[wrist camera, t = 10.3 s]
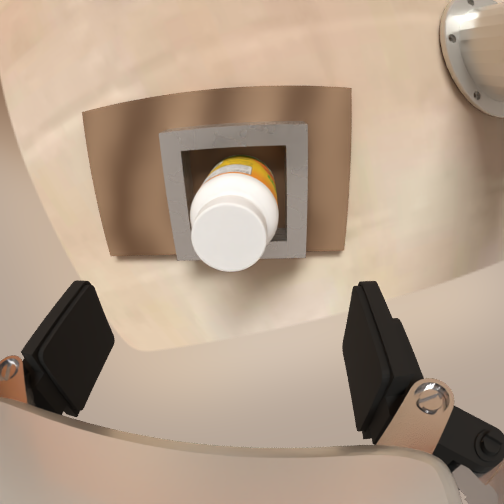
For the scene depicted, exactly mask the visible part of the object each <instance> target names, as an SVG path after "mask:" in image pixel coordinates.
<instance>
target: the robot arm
mask: <svg viewBox="0 0 504 504" xmlns="http://www.w3.org/2000/svg"><path fill="white" fill-rule="evenodd" d="M440 42H441V47H442V53H443V56H444V59H445V62H446V66H447V68H448V70H449V72H450V74H451V77H452V79H453V80H454V82H455V84H456V85H457V87H458V89H459V90H460V91H461V93H462V94H463V95H464V96H465V98H466V99H467V100H468V101H469V102H470V103H471V104H472V105H473V106H474V107H476V108H477V109H479V110H480V111H482V112H484V113H486V114H489V115H491V116H495V117H499V118H504V2H503V3H497V2H495V1H494V0H452V1H451V2H449V4H448V5H447V6H446V8H445V9H444V12H443V15H442V17H441V23H440ZM113 345H114V335H113V333H112V331H111V328H110V326H109V324H108V321H107V319H106V316H105V314H104V311H103V309H102V306H101V304H100V301H99V298H98V296H97V293H96V290H95V288H94V286H93V285H91V283H90V282H89V281H74V282H73V283H72V284H71V286H70V287H69V288H68V289H67V291H66V292H65V293H64V294H63V296H62V297H61V298H60V299H59V301H58V302H57V303H56V304H55V306H54V307H53V308H52V310H51V311H50V312H49V314H48V315H47V316H46V318H45V319H44V320H43V322H42V323H41V324H40V326H39V327H38V329H37V330H36V331H35V333H34V334H33V335H32V337H31V338H30V340H29V341H28V342H27V344H26V345H25V347H24V348H23V350H22V351H21V353H22V355H23V356H24V360H23V361H22V359H21V358H19V357H18V356H15V355H11V356H8V357H6V358H4V359H3V360H1V361H0V504H463V503H462V500H461V496H460V492H459V490H461V492H462V493H463V494H464V495H465V496H466V498H465V500H466V501H467V502H468V504H504V434H503V433H502V432H501V431H500V430H499V429H497V428H496V427H494V426H492V425H490V424H488V423H486V422H484V421H482V420H480V419H479V418H476V417H475V416H473V415H471V414H469V413H467V412H465V411H463V410H461V409H460V408H458V407H455V406H454V395H453V393H452V391H451V389H450V388H449V387H448V386H447V385H446V384H445V383H444V382H442V381H440V380H437V379H433V378H426V379H424V378H423V375H422V373H421V370H420V368H419V365H418V362H417V360H416V357H415V354H414V352H413V349H412V347H411V345H410V342H409V340H408V337H407V335H406V332H405V330H404V328H403V325H402V323H401V322H400V320H399V319H398V318H392V316H391V314H390V311H389V309H388V307H387V304H386V302H385V300H384V297H383V295H382V293H381V291H380V288H379V286H378V284H377V282H376V281H363V282H359V284H358V286H354V287H353V290H352V296H351V302H350V307H349V313H348V319H347V324H346V329H345V335H344V339H343V356H344V360H345V365H346V370H347V376H348V382H349V387H350V393H351V398H352V404H353V410H354V416H355V422H356V428H357V431H362V433H363V439H370V438H372V442H373V444H374V445H357V446H333V447H314V448H251V447H250V448H249V447H232V446H218V445H207V444H197V443H188V442H181V441H173V440H166V439H160V438H154V437H148V436H143V435H138V434H132V433H128V432H123V431H118V430H114V429H110V428H105V427H101V426H98V425H94V424H90V423H86V422H83V421H79V420H76V419H72V418H69V417H66V416H63V415H62V413H63V411H64V412H65V413H66V414H68V415H71V416H74V417H77V416H78V414H79V412H80V410H83V408H84V406H85V404H86V402H87V400H88V397H89V395H90V393H91V391H92V388H93V387H94V384H95V382H96V380H97V378H98V376H99V374H100V372H101V370H102V368H103V366H104V364H105V362H106V360H107V357H108V355H109V353H110V351H111V349H112V347H113Z"/></svg>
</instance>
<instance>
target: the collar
mask: <svg viewBox="0 0 504 504" xmlns="http://www.w3.org/2000/svg"><path fill="white" fill-rule="evenodd" d="M159 141H160V150H161V158H162V166H163V173H164V181H165V188H166V195H167V201H168V208H169V214H170V220H171V226H172V232H173V238H174V244H175V250H176V255H177V261H179V260H201V259H200V258H199V256H198V255H197V254H196V252H195V250H194V248H193V245H192V240H191V231H192V226H191V222H190V210H191V205H192V202H193V199H194V191H193V182H192V173H191V164H190V154H189V150H198V149H211V148H226V147H246V146H276V145H284V165H285V228H277V230H276V232H275V235H274V236H273V238H272V240H271V241H270V242H269V244H268V245H267V246H266V248H265V251H264V253H263V254H262V256H261V257H260V259H272V258H306V235H307V196H308V124H307V123H305V122H304V121H270V122H244V123H226V124H213V125H201V126H191V127H181V128H173V129H167V130H165V131H163V132H160V133H159Z"/></svg>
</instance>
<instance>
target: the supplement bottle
mask: <svg viewBox="0 0 504 504" xmlns="http://www.w3.org/2000/svg"><path fill="white" fill-rule="evenodd" d="M278 218H279V210H278V202H277V193H276V184H275V180H274V176H273V174H272V172H271V170H270V169H269V168H268V166H267V165H266V164H265V163H264V162H262V161H261V160H259V159H257V158H255V157H253V156H249V155H233V156H229V157H227V158H225V159H223V160H222V161H220V162H219V163H218V164H217V165H216V166H215V167H214V168H213V169H212V171H211V172H210V174H209V175H208V177H207V178H206V179H205V181H204V182H203V184H202V185H201V187H200V189H199V190H198V191H197V193H196V195H195V197H194V199H193V202H192V205H191V210H190V222H191V226H192V231H191V240H192V245H193V248H194V250H195V252H196V254H197V255H198V256H199V258H200V259H201V260H202V261H203V262H204V263H206V264H207V265H209V266H210V267H212V268H214V269H217V270H220V271H226V272H235V271H241V270H244V269H247V268H249V267H250V266H252V265H253V264H255V263H256V262H257V261H258V260H259V259H260V257H261V256H262V254H263V253H264V251H265V248H266V246H267V245H268V244H269V242H270V241H271V240H272V238H273V236H274V235H275V232H276V230H277V226H278Z"/></svg>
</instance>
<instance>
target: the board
mask: <svg viewBox="0 0 504 504" xmlns="http://www.w3.org/2000/svg"><path fill="white" fill-rule="evenodd" d="M351 110H352V105H351V88H343V87H324V86H255V87H236V88H222V89H211V90H201V91H192V92H184V93H176V94H169V95H163V96H156V97H150V98H145V99H139V100H134V101H129V102H124V103H119V104H114V105H110V106H105V107H101V108H97V109H93V110H89V111H85V112H82V115H83V123H84V131H85V138H86V144H87V151H88V157H89V163H90V168H91V174H92V179H93V184H94V189H95V194H96V199H97V203H98V208H99V212H100V217H101V221H102V225H103V229H104V233H105V237H106V241H107V244H108V248H109V252H110V255H111V256H130V255H173V254H176V250H175V244H174V238H173V232H172V226H171V220H170V214H169V208H168V201H167V195H166V188H165V181H164V173H163V166H162V158H161V150H160V141H159V133H160V132H163V131H165V130H167V129H173V128H181V127H191V126H201V125H213V124H226V123H244V122H270V121H304V122H305V123H307V124H308V196H307V235H306V251H340V250H344V245H345V235H346V224H347V211H348V197H349V180H350V159H351ZM189 154H190V164H191V173H192V182H193V191H194V197H195V195H196V193H197V191H198V190H199V189H200V187H201V185H202V184H203V182H204V181H205V179H206V178H207V177H208V175H209V174H210V172H211V171H212V169H213V168H214V167H215V166H216V165H217V164H218V163H219V162H220V161H222V160H223V159H225V158H227V157H229V156H233V155H249V156H253V157H255V158H257V159H259V160H261V161H262V162H264V163H265V164H266V165H267V166H268V168H269V169H270V170H271V172H272V174H273V176H274V180H275V184H276V193H277V202H278V210H279V218H278V226H277V228H285V165H284V145H276V146H246V147H226V148H211V149H198V150H189Z"/></svg>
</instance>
